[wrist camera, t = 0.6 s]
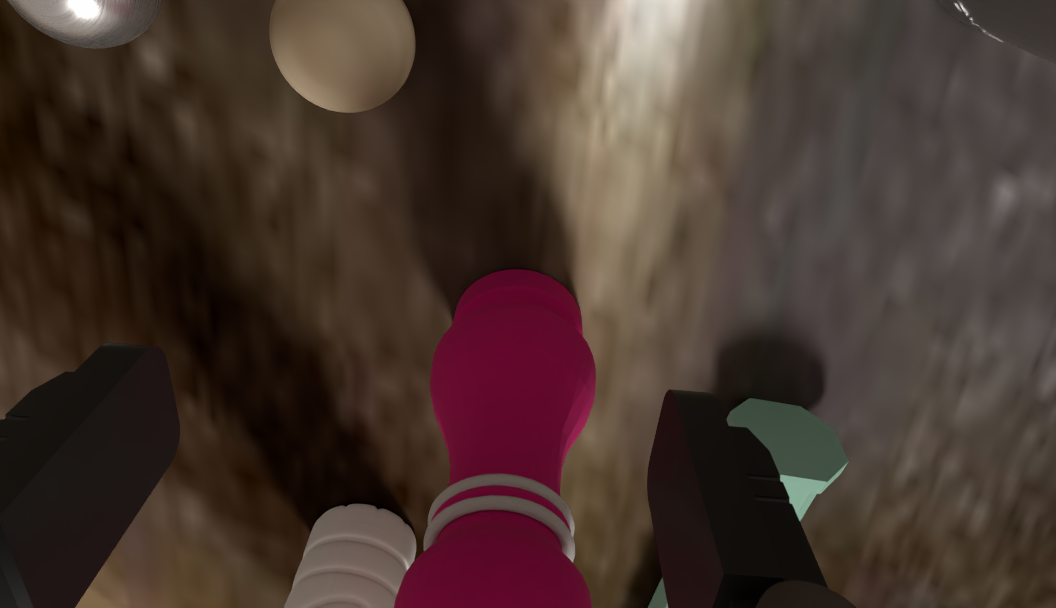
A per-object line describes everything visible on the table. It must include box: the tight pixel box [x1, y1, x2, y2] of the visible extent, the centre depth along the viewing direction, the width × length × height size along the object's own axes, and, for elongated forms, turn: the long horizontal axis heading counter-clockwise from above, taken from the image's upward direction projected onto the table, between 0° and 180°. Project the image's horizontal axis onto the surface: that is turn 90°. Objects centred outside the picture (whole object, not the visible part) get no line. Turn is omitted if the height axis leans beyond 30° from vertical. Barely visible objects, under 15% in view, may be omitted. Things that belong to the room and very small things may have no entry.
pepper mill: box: [394, 269, 596, 608], centre depth 26 cm, size 7×7×20 cm
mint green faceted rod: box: [648, 398, 849, 608], centre depth 41 cm, size 6×6×25 cm
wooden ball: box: [270, 0, 415, 113], centre depth 25 cm, size 5×5×5 cm
